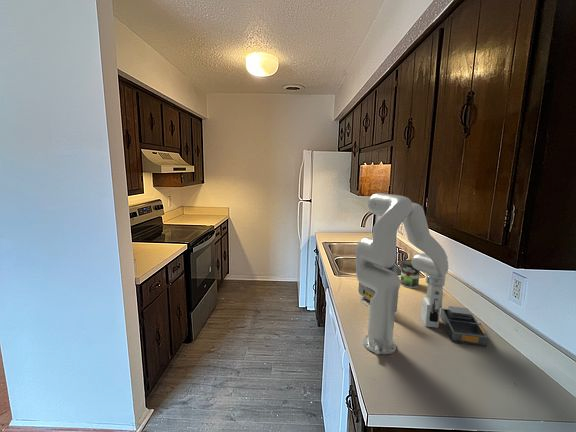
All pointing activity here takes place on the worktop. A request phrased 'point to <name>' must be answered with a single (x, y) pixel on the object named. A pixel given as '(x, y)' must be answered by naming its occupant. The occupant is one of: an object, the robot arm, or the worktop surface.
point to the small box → (428, 314)
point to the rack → (464, 330)
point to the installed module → (459, 314)
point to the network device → (369, 295)
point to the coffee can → (409, 275)
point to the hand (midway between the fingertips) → (431, 316)
